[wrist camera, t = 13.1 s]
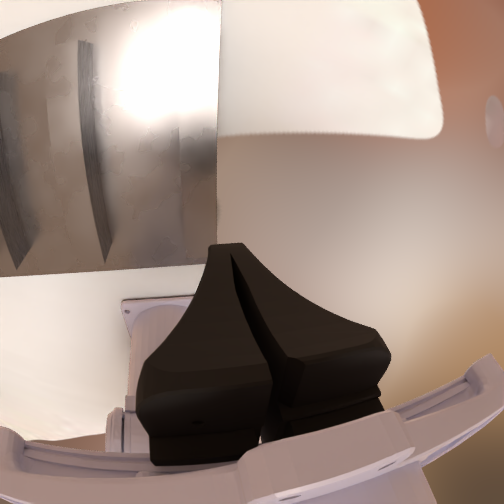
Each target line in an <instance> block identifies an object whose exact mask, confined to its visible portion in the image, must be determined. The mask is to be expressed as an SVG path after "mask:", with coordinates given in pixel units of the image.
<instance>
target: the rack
mask: <svg viewBox="0 0 504 504" xmlns="http://www.w3.org/2000/svg"><path fill="white" fill-rule="evenodd" d="M221 6H222V0H141V1H134V2H127V3H120V4H115V5H109V6H104V7H99V8H94V9H90V10H85V11H81V12H77V13H74V14H70V15H66V16H63V17H59V18H56V19H53V20H50V21H46V22H43V23H40V24H38V25H35V26H32V27H29V28H27V29H24V30H21V31H19V32H16V33H14V34H11V35H9V36H7V37H4V38H2V39H0V277H12V276H29V275H46V274H62V273H78V272H93V271H108V270H123V269H138V268H152V267H167V266H181V265H194V264H206V262H207V258H208V247H209V246H210V245H215V244H217V199H216V174H217V173H216V171H217V169H216V167H217V166H216V163H217V104H218V72H219V47H220V27H221V24H220V23H221Z"/></svg>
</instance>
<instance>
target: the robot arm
mask: <svg viewBox="0 0 504 504" xmlns="http://www.w3.org/2000/svg"><path fill="white" fill-rule="evenodd" d="M121 310H122V313H123V316H124V319H125V322H126V325H127V328H128V331H129V334H130V337H131V351H130V363H129V377H128V395H126V398H125V412H123V408H118V407H116V408H115V409H114V411H112V412H111V413H109V414H108V417H107V424H106V443H105V444H106V445H105V446H106V448H105V449H106V452H103V451H90V450H80V449H72V448H65V447H57V446H52V445H46V444H41V443H35V442H30V441H26V440H24V439H23V438H22V437H21V436H20V435H19V434H18V433H16V432H15V431H13V430H11V429H9V428H6V427H2V426H0V498H2V499H4V500H7V501H9V502H11V503H13V504H437V503H436V500H435V498H434V496H433V493H432V491H431V489H430V486H429V484H428V482H427V480H426V478H425V476H424V473H423V471H422V469H421V468H422V467H423V466H425V465H427V464H429V463H430V462H432V461H434V460H435V459H437V458H439V457H440V456H442V455H444V454H445V453H447V452H448V451H450V450H451V449H453V448H454V447H456V446H457V445H459V444H460V443H462V442H463V441H465V440H466V439H468V438H469V437H470V436H472V435H473V434H475V433H476V432H477V431H479V430H480V429H481V428H483V427H484V426H485V425H487V424H488V423H489V422H490V421H491V420H492V419H494V418H495V417H496V416H497V415H498V414H499V413H500V412H501V411H502V410H503V409H504V371H503V369H502V368H501V367H500V365H499V364H498V362H497V361H496V360H495V359H494V357H493V356H492V354H491V353H489V354H487V355H485V356H484V357H482V358H480V359H478V360H477V361H475V362H474V363H473V364H472V365H471V366H470V367H469V368H468V369H467V371H466V372H465V374H464V375H463V376H461V377H459V378H457V379H455V380H453V381H451V382H449V383H447V384H445V385H443V386H441V387H439V388H437V389H435V390H432V391H430V392H428V393H426V394H424V395H421V396H419V397H417V398H415V399H412V400H410V401H407V402H405V403H403V404H400V405H398V406H395V407H392V408H390V409H387V410H384V408H383V406H382V404H381V402H380V400H379V398H378V397H380V396H381V391H380V390H379V388H378V386H377V384H378V382H379V381H380V379H381V378H382V376H383V375H384V373H385V371H386V370H387V368H388V366H389V364H390V361H391V353H390V351H389V349H388V348H387V346H386V344H385V342H384V341H383V339H382V338H381V336H380V335H379V333H378V332H377V331H376V330H375V329H374V328H371V327H368V326H364V325H362V324H359V323H355V322H353V321H350V320H347V319H345V318H343V317H340V316H338V315H336V314H333V313H331V312H329V311H327V310H325V309H323V308H321V307H320V306H318V305H316V304H314V303H312V302H311V301H309V300H307V299H305V298H304V297H302V296H301V295H299V294H298V293H297V292H295V291H293V290H292V289H291V288H289V287H288V286H287V285H285V284H284V283H283V282H282V281H280V280H279V279H278V278H277V277H276V276H274V275H273V274H272V273H271V272H270V271H269V270H268V269H267V268H266V267H265V266H264V265H263V264H262V263H261V262H260V261H259V260H258V259H257V258H256V257H255V256H254V255H253V254H252V253H251V252H250V251H249V249H248V248H247V247H246V246H245V245H244V244H243V243H231V244H215V245H210V246H209V247H208V258H207V262H206V266H205V269H204V272H203V276H202V278H201V281H200V283H199V286H198V288H197V290H196V293H195V295H194V296H189V297H175V298H161V299H145V300H127V301H123V302H122V303H121ZM127 310H129V311H127ZM260 436H261V441H262V443H261V444H258V443H259V438H260Z"/></svg>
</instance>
